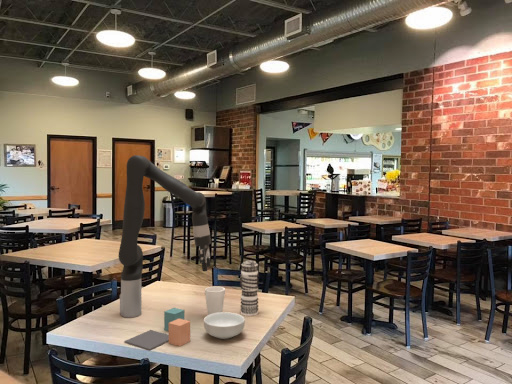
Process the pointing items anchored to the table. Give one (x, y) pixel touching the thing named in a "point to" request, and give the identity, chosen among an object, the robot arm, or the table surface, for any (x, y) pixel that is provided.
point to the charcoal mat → (149, 340)
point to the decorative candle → (249, 288)
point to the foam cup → (214, 299)
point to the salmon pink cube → (179, 332)
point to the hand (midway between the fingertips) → (206, 268)
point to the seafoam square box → (172, 316)
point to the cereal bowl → (224, 324)
